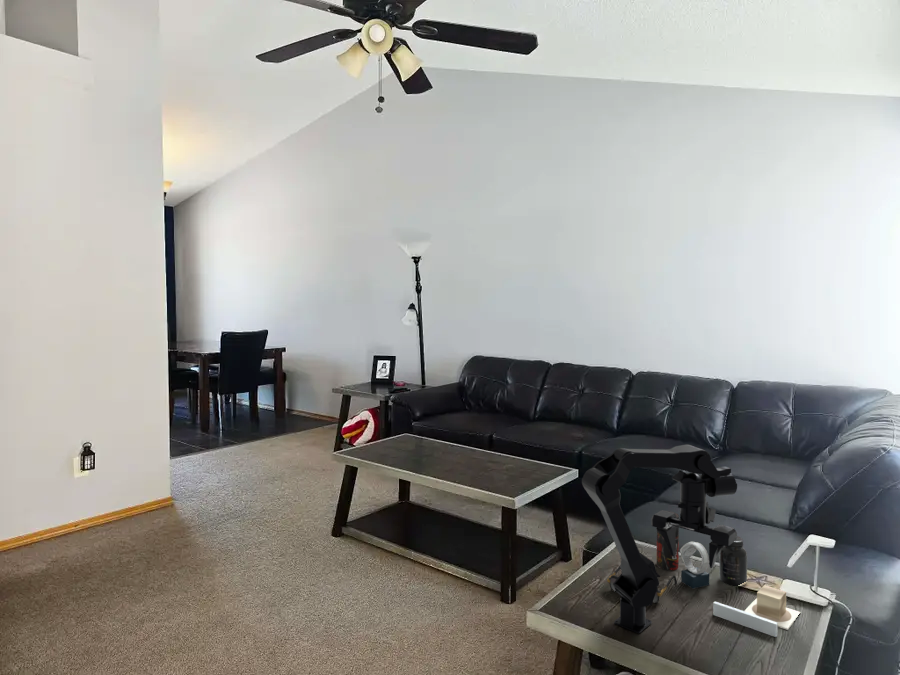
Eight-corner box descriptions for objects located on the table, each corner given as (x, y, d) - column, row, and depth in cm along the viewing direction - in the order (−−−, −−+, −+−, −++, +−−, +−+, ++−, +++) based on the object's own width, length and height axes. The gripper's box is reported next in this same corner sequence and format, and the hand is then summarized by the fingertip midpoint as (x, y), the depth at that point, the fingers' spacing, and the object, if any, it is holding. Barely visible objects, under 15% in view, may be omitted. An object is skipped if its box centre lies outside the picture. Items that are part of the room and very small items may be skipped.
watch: (692, 575, 167) (692, 536, 166) (714, 587, 159) (714, 547, 158) (675, 578, 165) (676, 539, 164) (697, 591, 157) (697, 550, 156)
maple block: (779, 619, 142) (779, 599, 142) (756, 612, 146) (757, 592, 145) (785, 611, 146) (786, 591, 145) (763, 604, 149) (764, 585, 149)
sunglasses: (677, 585, 162) (677, 566, 161) (659, 608, 150) (659, 589, 149) (626, 571, 170) (626, 554, 170) (605, 593, 158) (605, 574, 158)
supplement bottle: (720, 573, 167) (721, 531, 166) (748, 579, 164) (748, 536, 163) (717, 583, 161) (718, 540, 161) (745, 589, 158) (746, 545, 157)
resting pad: (787, 630, 139) (787, 628, 138) (742, 614, 146) (742, 612, 146) (800, 613, 146) (800, 611, 146) (756, 599, 153) (756, 597, 153)
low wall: (775, 637, 136) (776, 624, 136) (713, 614, 146) (713, 602, 145) (777, 635, 136) (777, 622, 136) (714, 613, 146) (714, 601, 146)
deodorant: (663, 559, 177) (664, 509, 176) (682, 566, 172) (683, 515, 171) (652, 565, 173) (652, 514, 172) (671, 572, 168) (671, 520, 167)
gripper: (746, 499, 144) (744, 562, 145) (670, 483, 157) (670, 541, 158) (728, 511, 136) (727, 578, 137) (650, 493, 149) (649, 554, 150)
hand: (692, 561), depth 145 cm, fingers open, 9 cm apart
